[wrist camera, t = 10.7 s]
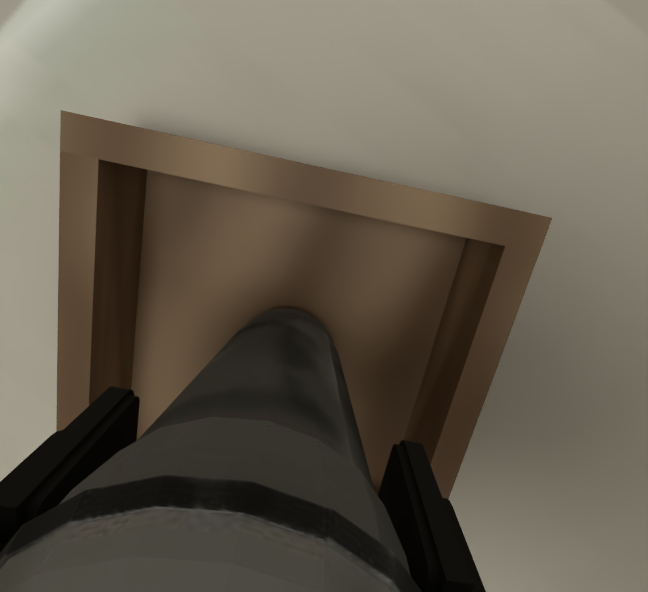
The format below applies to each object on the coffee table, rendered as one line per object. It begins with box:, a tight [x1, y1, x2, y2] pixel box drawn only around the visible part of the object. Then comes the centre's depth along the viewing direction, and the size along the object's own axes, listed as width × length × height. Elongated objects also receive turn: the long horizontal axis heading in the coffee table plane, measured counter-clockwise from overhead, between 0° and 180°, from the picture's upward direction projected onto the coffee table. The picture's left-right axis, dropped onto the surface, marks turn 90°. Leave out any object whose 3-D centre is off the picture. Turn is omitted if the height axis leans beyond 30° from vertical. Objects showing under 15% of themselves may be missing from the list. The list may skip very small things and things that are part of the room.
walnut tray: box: [57, 110, 552, 499], centre depth 17 cm, size 16×16×4 cm
